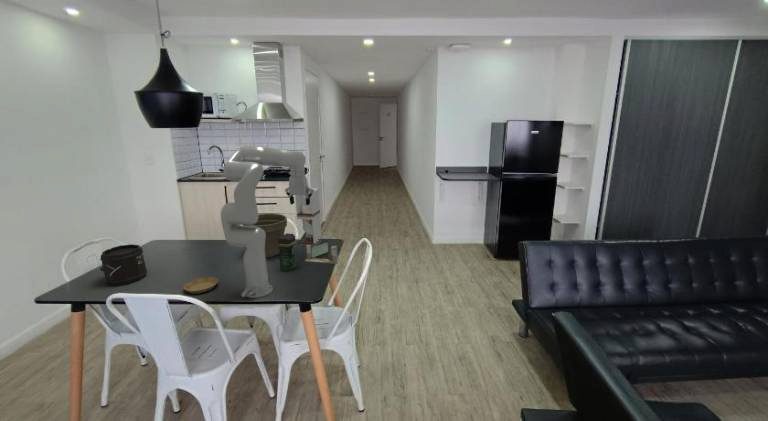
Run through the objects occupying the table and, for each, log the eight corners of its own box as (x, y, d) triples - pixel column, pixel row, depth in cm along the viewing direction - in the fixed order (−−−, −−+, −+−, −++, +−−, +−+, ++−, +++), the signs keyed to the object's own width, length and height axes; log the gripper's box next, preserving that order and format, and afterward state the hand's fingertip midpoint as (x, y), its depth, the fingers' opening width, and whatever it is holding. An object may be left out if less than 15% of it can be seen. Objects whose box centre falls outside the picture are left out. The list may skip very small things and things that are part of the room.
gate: (312, 257, 197) (312, 248, 196) (311, 257, 198) (310, 248, 196) (328, 251, 206) (327, 243, 204) (326, 251, 207) (326, 242, 205)
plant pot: (296, 253, 206) (294, 219, 200) (255, 265, 190) (251, 227, 185) (279, 243, 224) (276, 211, 219) (240, 252, 209) (236, 218, 203)
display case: (306, 239, 230) (303, 188, 221) (321, 240, 228) (318, 188, 219) (299, 245, 219) (295, 191, 210) (315, 246, 217) (311, 192, 208)
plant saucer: (176, 294, 160) (175, 289, 159) (199, 280, 173) (199, 275, 173) (203, 297, 156) (203, 292, 156) (225, 283, 170) (224, 278, 170)
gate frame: (336, 264, 190) (335, 248, 188) (305, 261, 195) (303, 245, 192) (338, 261, 194) (338, 245, 192) (308, 258, 199) (307, 243, 196)
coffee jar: (291, 271, 181) (289, 238, 177) (278, 270, 183) (274, 237, 178) (299, 264, 190) (297, 232, 186) (286, 263, 192) (283, 231, 187)
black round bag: (104, 277, 177) (97, 248, 173) (146, 268, 188) (140, 241, 184) (103, 290, 163) (96, 259, 159) (149, 280, 174) (143, 250, 170)
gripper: (280, 174, 189) (282, 205, 193) (309, 175, 185) (311, 206, 189) (287, 172, 196) (289, 202, 200) (315, 173, 192) (317, 203, 196)
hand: (300, 204), depth 195 cm, fingers open, 9 cm apart
